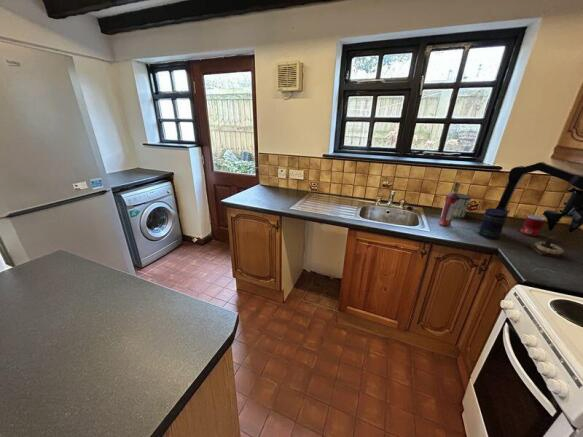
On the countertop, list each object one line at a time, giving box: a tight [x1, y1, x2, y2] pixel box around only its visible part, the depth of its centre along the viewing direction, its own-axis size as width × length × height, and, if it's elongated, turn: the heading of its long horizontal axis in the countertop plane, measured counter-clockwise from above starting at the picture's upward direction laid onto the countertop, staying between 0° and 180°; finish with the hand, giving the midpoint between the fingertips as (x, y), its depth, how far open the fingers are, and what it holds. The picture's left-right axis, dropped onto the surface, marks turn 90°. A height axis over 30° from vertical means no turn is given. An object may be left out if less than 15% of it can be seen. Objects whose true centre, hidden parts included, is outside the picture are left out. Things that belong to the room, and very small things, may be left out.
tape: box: [533, 241, 565, 255], centre depth 126 cm, size 11×11×2 cm
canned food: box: [520, 214, 547, 237], centre depth 144 cm, size 8×8×11 cm
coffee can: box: [453, 192, 472, 218], centre depth 167 cm, size 10×10×14 cm
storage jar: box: [478, 207, 509, 240], centre depth 138 cm, size 10×10×15 cm
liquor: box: [438, 181, 461, 227], centre depth 148 cm, size 7×7×28 cm
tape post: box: [527, 236, 562, 258], centre depth 125 cm, size 9×9×8 cm
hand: (559, 231), depth 123 cm, fingers open, 9 cm apart
